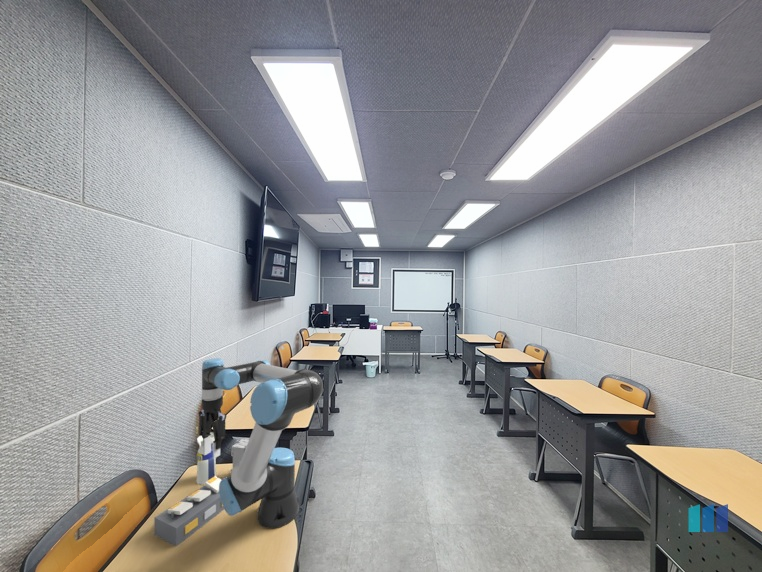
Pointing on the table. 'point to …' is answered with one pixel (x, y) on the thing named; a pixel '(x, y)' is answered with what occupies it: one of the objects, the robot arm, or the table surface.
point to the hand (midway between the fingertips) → (211, 455)
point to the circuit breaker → (238, 451)
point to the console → (187, 518)
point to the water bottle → (205, 462)
